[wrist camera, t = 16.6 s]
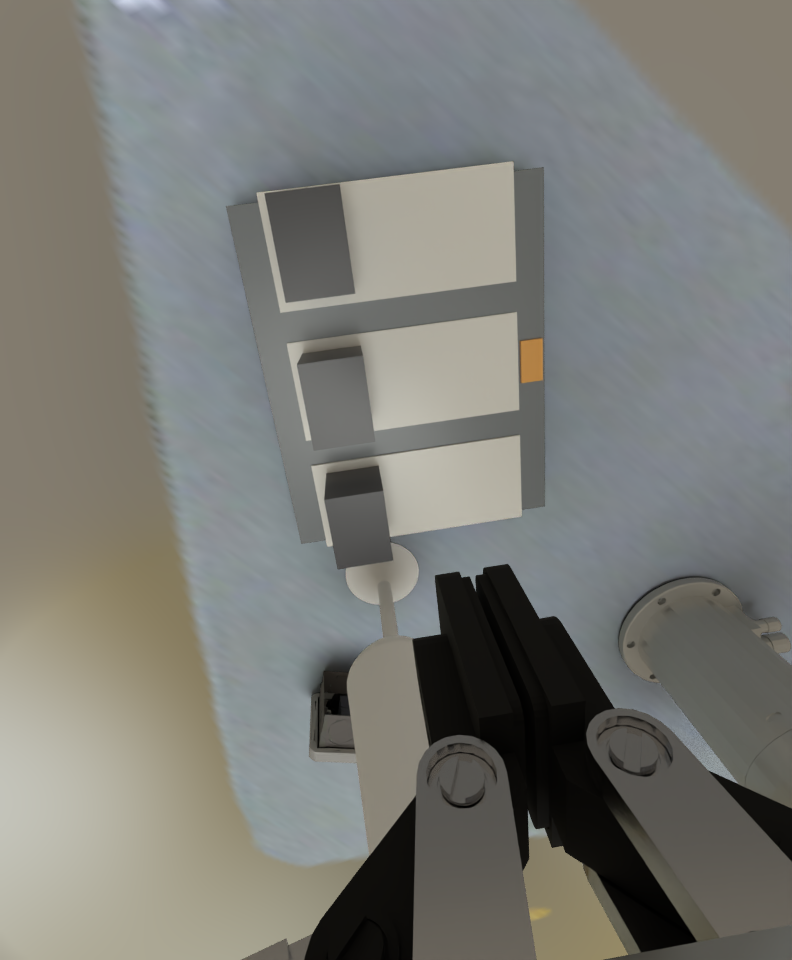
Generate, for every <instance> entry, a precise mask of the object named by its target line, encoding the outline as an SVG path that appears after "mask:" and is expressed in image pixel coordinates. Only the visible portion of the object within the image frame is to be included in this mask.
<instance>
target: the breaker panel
mask: <svg viewBox="0 0 792 960" xmlns="http://www.w3.org/2000/svg"><path fill="white" fill-rule="evenodd" d="M256 194H257V199H258V203H250V204H242V205H234V206H226V208H227V213H228V217H229V222H230V226H231V231H232V235H233V240H234V244H235V249H236V253H237V258H238V262H239V267H240V271H241V276H242V280H243V284H244V289H245V293H246V298H247V302H248V307H249V311H250V316H251V320H252V325H253V329H254V334H255V338H256V343H257V347H258V352H259V356H260V361H261V365H262V370H263V374H264V378H265V383H266V387H267V392H268V396H269V401H270V405H271V410H272V414H273V419H274V423H275V428H276V432H277V437H278V441H279V446H280V450H281V455H282V459H283V463H284V468H285V472H286V477H287V481H288V486H289V490H290V495H291V499H292V504H293V508H294V513H295V517H296V522H297V526H298V531H299V535H300V540H301V544H304V543H311V542H317V541H324V540H326V543H327V547H329V546H333V548H334V553H335V558H336V563H337V568H338V569H344V568H350V567H356V566H363V565H369V564H375V563H382V562H388V561H393V554H392V547H391V540H390V537H393V536H399V535H406V534H412V533H419V532H425V531H432V530H438V529H444V528H451V527H457V526H464V525H470V524H477V523H483V522H489V521H496V520H502V519H509V518H515V517H522V510H524V509H530V508H537V507H543V506H545V425H544V167H542V168H534V169H526V170H518V171H514V162H513V161H512V162H504V163H495V164H487V165H479V166H471V167H463V168H454V169H446V170H438V171H430V172H422V173H414V174H405V175H397V176H389V177H381V178H373V179H364V180H356V181H348V182H340V183H332V184H324V185H315V186H307V187H299V188H291V189H283V190H274V191H266V192H258V193H256ZM353 346H361V349H362V353H363V358H364V365H365V372H366V379H367V386H368V393H369V400H370V407H371V414H372V421H373V428H374V435H375V442H371V443H364V444H358V445H351V446H344V447H337V448H330V449H324V450H317V451H314V450H313V445H312V440H311V435H310V430H309V425H308V420H307V415H306V409H305V404H304V399H303V394H302V389H301V384H300V379H299V374H298V369H297V363H298V361H299V359H300V357H301V355H302V354H303V353H310V352H317V351H324V350H332V349H339V348H346V347H353Z"/></svg>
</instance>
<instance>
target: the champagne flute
mask: <svg viewBox="0 0 792 960" xmlns="http://www.w3.org/2000/svg"><path fill="white" fill-rule="evenodd" d="M391 547H392V554H393V561H388V562H382V563H375V564H369V565H363V566H356V567H350V568H347V569H346V581H347V585H348V587H349V589H350V590H351V592H352V593H353V594H354V595H355V596H356V597H358V598H359V599H361V600H363V601H365V602H367V603H371V604H377V605H380V614H381V622H382V631H383V638H382V639H379V640H377V641H375V642H374V643H372V644H371V645H369V646H368V647H367V648H365V649H364V650H363V651H362V652H361V653H360V655H359V656H358V657H357V658H356V660H355V661H354V662H353V664H352V666H351V668H350V671H349V674H348V679H347V693H348V701H349V708H350V716H351V723H352V730H353V738H354V745H355V753H356V760H357V768H358V775H359V783H360V790H361V797H362V805H363V812H364V820H365V827H366V835H367V842H368V849H369V856H370V855H371V853H372V852H373V851H374V849H375V848H376V847H377V845H378V844H379V843H380V841H381V840H382V839H383V838H384V836H385V835H386V834H387V832H388V831H389V830H390V828H391V827H392V826H393V824H394V823H395V822H396V821H397V819H398V818H399V817H400V815H401V814H402V813H403V811H404V810H405V809H406V807H407V806H408V805H409V804H410V802H411V801H412V800H413V798H414V797H415V796H416V778H417V770H418V765H419V761H420V760H421V758H422V756H423V754H424V752H425V751H426V750H427V749H428V748H429V744H428V738H427V732H426V727H425V721H424V715H423V710H422V704H421V698H420V692H419V685H418V679H417V672H416V665H415V658H414V650H413V642H412V639H414V638H410V637H407V636H399V635H398V628H397V622H396V616H395V609H394V602H396V601H399V600H401V599H402V598H404V597H405V596H407V595H408V594H409V593H410V592H411V591H412V589H413V588H414V587H415V585H416V583H417V580H418V576H419V568H418V563H417V561H416V559H415V557H414V556H413V555H412V553H411V552H410V551H408V550H407V549H406V548H404V547H402V546H401V545H398V544H395V543H391Z"/></svg>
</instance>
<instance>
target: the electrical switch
mask: <svg viewBox="0 0 792 960" xmlns="http://www.w3.org/2000/svg"><path fill="white" fill-rule="evenodd" d="M348 674H349V673H348V672H333V671H324V673H323V680H322V683H321V685H320V688H321V690H320V693H316V694H314V695H312V697H311V719H310V745H309V757H310V758H311V759H312V760H313V761H315V762H341V763H357V760H356V753H355V745H354V738H353V730H352V723H351V716H350V708H349V701H348V693H347V679H348V678H347V677H348ZM338 676H339V677H338ZM330 685H331V686H330ZM325 692H328V693H325ZM333 693H334V694H333Z"/></svg>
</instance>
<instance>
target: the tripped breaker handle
mask: <svg viewBox="0 0 792 960" xmlns="http://www.w3.org/2000/svg"><path fill="white" fill-rule="evenodd" d="M297 369H298V374H299V379H300V384H301V389H302V394H303V399H304V404H305V409H306V415H307V420H308V425H309V430H310V435H311V440H312V445H313V450H314V451H317V450H324V449H330V448H337V447H344V446H351V445H358V444H364V443H371V442H375V435H374V428H373V421H372V414H371V407H370V400H369V393H368V386H367V379H366V372H365V365H364V358H363V353H362V349H361V346H353V347H346V348H339V349H332V350H324V351H317V352H310V353H303V354H302V355H301V357H300V359H299V361H298V363H297Z"/></svg>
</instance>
